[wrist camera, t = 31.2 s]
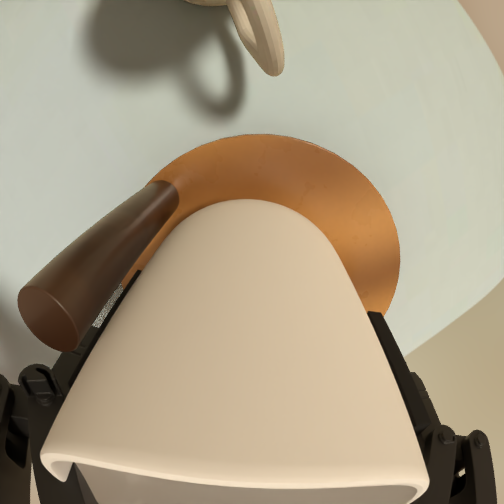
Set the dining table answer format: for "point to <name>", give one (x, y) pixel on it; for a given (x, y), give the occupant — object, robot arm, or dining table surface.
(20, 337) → the dining table surface
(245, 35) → the mug
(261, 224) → the cup
